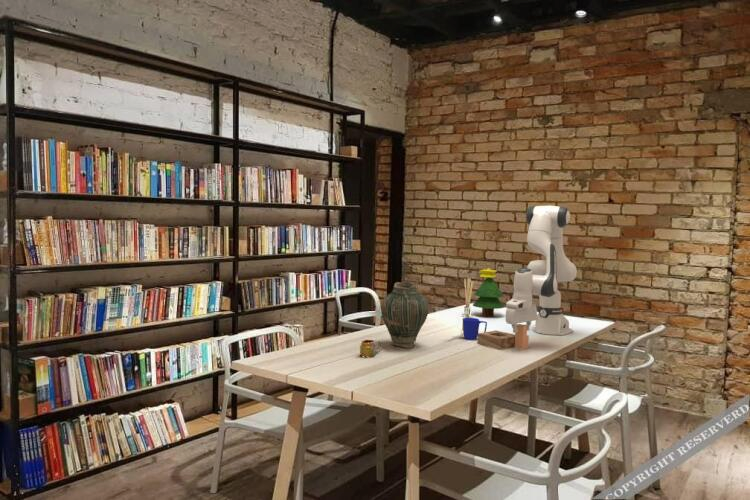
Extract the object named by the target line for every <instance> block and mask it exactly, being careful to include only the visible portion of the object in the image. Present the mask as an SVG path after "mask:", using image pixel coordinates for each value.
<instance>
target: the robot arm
mask: <svg viewBox="0 0 750 500" xmlns="http://www.w3.org/2000/svg"><path fill="white" fill-rule="evenodd" d="M570 219H571V213H570V210H569V209H568V207H565V206H556V205H532V206H529V207H528V208H527V209H526V212H525V221H526V223H527V224H528V225H529V226H528V230H527V236H526V243H527V244H528V246H529V248H530V249H531V250H533V251H534V252H536V253H538V254H540V255H542V256H544V257H545V259H546V260H545V259H544V260H543V259H537V260H536V259H535V260H531V261H530V262H529V263H528V265H527V267H521V268H518V269H516V270H515V273H514V278H513V289H514V292H513V294H512V295H513V296H512V298H511V299H510V300H508V301H506V303H505V307H506V310H505V322H506V324H509V325H511V328H512V332H513V333H512V334H515V333H517V332H518V329H517V327H516V326H517V324H523V323H525V325H527V332H529V331H530V327H531V324H532V322H533V321H535V325H534V327H533V328H532V329H533V330H534V332H535V333H538V334H543V335H549V336H550V335H551V336H555V335H556V336H566V335H569V334H571V333H573V332H574V329H572V328H570V321H569V320H568V318H566V316H564V314H563V312H565V311H566V308H565V307H564V306H561V305H562V304H561V303H562V301H561V300H562V294H561V291H560V290H558V282H559V283H560V282H561V283H564V282H565V283H566V282H572V281H574V280H575V279H576V276H577V274H578V272H577V271H578V270H577V267H576V265H575V264H574V263H573V262H572V261H571V260H570V259H569V258H568V257H567V255H566V253H565V250H564V235H563V234H564V233H563V232H564V229H563V228H565V227H566V226H568V224H570V223H569V222H570ZM533 295H535V296H538V297H539V301H538V302H539V304H538V306H537V305H536V303H535V301H533Z"/></svg>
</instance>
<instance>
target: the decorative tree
mask: <svg viewBox="0 0 750 500" xmlns="http://www.w3.org/2000/svg"><path fill="white" fill-rule="evenodd" d="M497 271H498V270H497V269H496V270H494V269H491V268H490V267H488V268H486V269H485V268H484V269H480V270H478V272H479V273H481V274H480V275H479V277H483V278H485V280H484V281H483V282H482V283H481V285H480V286H479V287H478V289H477V290H476V291H475V292H474V294H473V295H474V296H476V297H478V298H477V299H476V300H475V302H474V303H473V304H472V307H475V308H479V309H481V317H485V318H492V317H494V315H495V310H498V309H504V308H505V306H504V305H503V303H502V302H501V301H500V299H499V298H502V297H504V294H503V293H502V291H501V289H500V288H499V286H498V285H497V283H496V282H495V280H494V279H493V278H496V277H498V276H497V274H496V273H497Z"/></svg>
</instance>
